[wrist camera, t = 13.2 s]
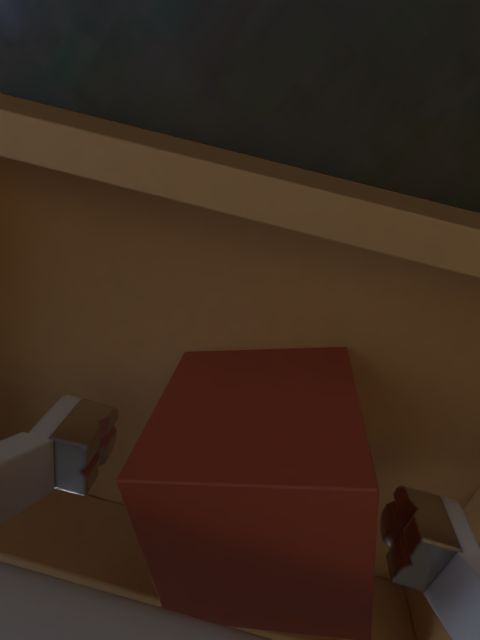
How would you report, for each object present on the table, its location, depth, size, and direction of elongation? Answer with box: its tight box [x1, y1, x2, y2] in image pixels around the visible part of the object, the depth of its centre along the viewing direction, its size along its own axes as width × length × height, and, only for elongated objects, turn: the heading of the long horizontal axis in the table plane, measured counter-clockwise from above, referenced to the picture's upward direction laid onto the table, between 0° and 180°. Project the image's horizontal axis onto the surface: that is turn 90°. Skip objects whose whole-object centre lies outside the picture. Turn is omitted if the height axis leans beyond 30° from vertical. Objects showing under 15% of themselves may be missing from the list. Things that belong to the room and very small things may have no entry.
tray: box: [0, 93, 480, 640], centre depth 11 cm, size 20×15×4 cm
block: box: [116, 347, 379, 640], centre depth 10 cm, size 5×5×5 cm
